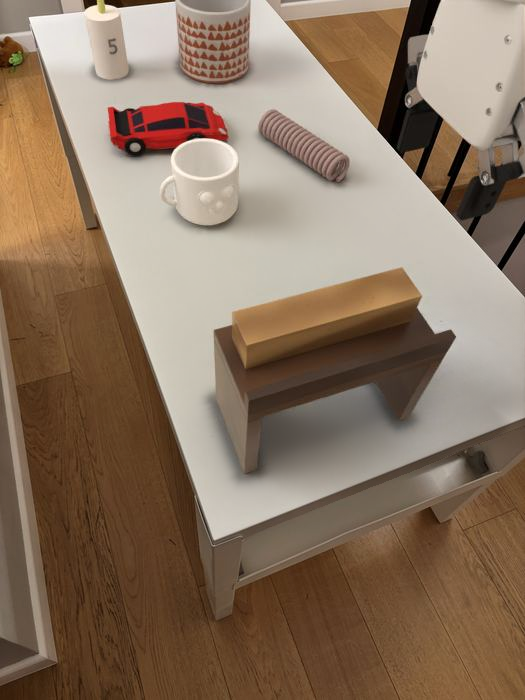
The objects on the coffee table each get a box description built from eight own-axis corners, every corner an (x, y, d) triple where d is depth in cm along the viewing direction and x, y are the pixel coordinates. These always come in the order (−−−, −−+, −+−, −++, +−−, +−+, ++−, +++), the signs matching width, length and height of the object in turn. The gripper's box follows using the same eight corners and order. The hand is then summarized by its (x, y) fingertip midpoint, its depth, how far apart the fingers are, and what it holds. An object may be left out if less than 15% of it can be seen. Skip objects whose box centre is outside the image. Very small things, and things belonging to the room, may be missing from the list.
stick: (411, 321, 55) (422, 295, 52) (245, 369, 51) (246, 345, 47) (392, 293, 57) (402, 266, 54) (231, 337, 53) (231, 311, 49)
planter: (198, 91, 102) (195, 19, 92) (168, 57, 109) (162, -14, 98) (260, 75, 107) (264, 5, 96) (228, 43, 113) (228, -26, 103)
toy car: (232, 147, 93) (233, 120, 89) (115, 163, 89) (110, 136, 85) (218, 113, 99) (217, 86, 94) (107, 126, 94) (101, 99, 90)
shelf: (408, 417, 64) (456, 336, 51) (244, 474, 59) (248, 400, 46) (370, 352, 70) (404, 263, 56) (215, 399, 65) (212, 313, 51)
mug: (175, 243, 79) (170, 194, 72) (152, 200, 84) (145, 149, 77) (249, 222, 82) (252, 173, 75) (223, 182, 87) (223, 131, 80)
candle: (102, 83, 102) (85, -5, 90) (91, 66, 105) (73, -21, 93) (134, 76, 104) (121, -11, 92) (121, 60, 107) (108, -26, 95)
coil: (355, 153, 86) (277, 104, 93) (336, 162, 84) (258, 110, 91) (347, 178, 90) (273, 129, 97) (329, 187, 88) (254, 136, 95)
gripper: (677, 5, 30) (536, 234, 44) (492, -98, 39) (424, 119, 53) (573, 24, 28) (460, 256, 42) (404, -90, 37) (357, 133, 51)
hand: (440, 180), depth 48 cm, fingers open, 9 cm apart
